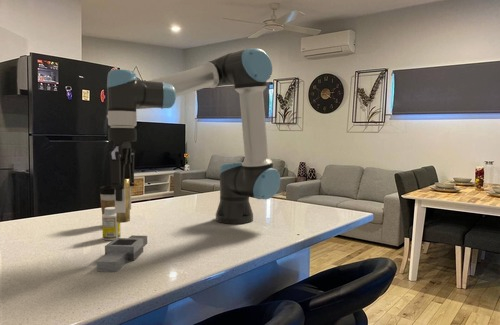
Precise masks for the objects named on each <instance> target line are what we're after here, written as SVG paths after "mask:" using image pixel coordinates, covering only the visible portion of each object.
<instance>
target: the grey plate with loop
mask: <svg viewBox="0 0 500 325" xmlns="http://www.w3.org/2000/svg"><path fill="white" fill-rule="evenodd" d="M147 244H148V235H130V236H129V237H120V238H116V239H114V240H110V242H108V243H107V244H106V245H104V256H103V257H101V258H100V259H98V260H97V261H96V272H104V273H105V272H109V273H112V272H113V273H117V272H118V271H119V270H120V269H121V268H122V267H123V266H124V265H125V264H127V263H128V262H134V261H136V260H137V258H139V257H140V256H141V255H142V254H143V253H144V247H146V245H147Z"/></svg>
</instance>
